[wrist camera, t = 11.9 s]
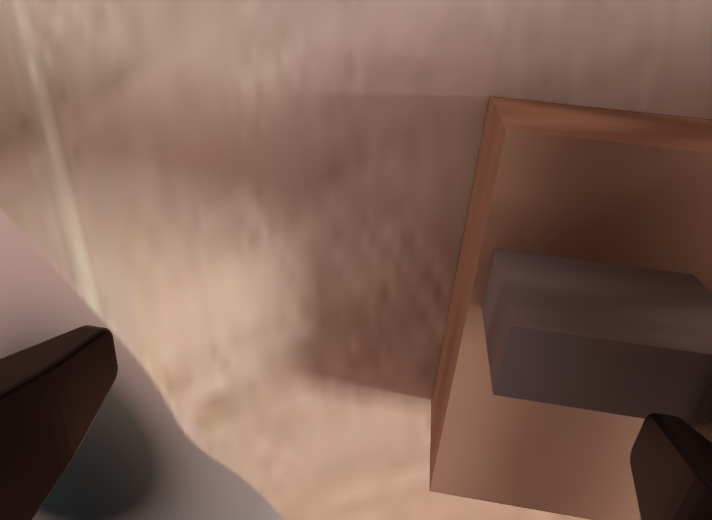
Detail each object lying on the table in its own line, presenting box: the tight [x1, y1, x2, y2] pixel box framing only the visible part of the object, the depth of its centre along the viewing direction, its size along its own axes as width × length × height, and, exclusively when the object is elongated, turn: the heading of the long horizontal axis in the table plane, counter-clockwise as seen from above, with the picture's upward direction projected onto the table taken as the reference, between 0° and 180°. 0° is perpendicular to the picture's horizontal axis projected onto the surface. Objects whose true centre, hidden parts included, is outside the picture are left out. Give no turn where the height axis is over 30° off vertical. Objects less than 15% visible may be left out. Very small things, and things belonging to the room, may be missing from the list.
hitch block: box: [430, 96, 712, 520], centre depth 13 cm, size 12×11×7 cm
